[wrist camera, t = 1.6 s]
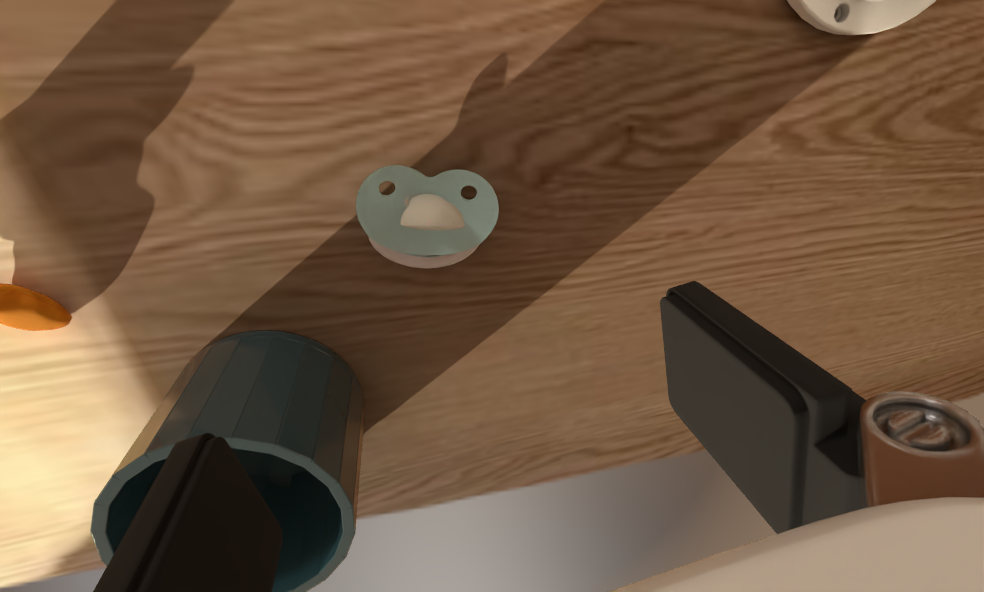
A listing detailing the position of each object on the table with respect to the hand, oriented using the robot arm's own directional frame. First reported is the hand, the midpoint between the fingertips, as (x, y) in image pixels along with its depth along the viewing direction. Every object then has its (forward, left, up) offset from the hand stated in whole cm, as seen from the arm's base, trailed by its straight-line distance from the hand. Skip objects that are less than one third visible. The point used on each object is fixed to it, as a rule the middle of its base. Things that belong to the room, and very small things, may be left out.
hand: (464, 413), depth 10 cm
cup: (+13, +10, -19) cm, 26 cm away
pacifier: (0, +1, -20) cm, 20 cm away
